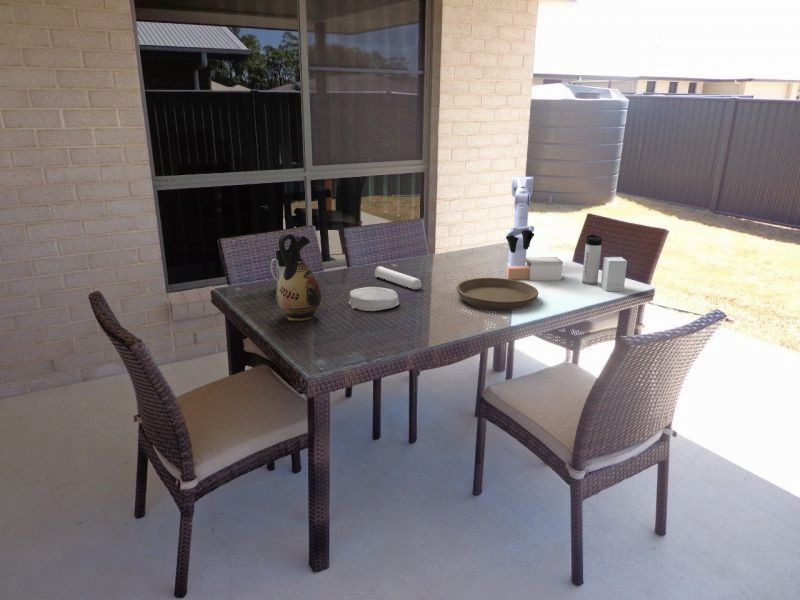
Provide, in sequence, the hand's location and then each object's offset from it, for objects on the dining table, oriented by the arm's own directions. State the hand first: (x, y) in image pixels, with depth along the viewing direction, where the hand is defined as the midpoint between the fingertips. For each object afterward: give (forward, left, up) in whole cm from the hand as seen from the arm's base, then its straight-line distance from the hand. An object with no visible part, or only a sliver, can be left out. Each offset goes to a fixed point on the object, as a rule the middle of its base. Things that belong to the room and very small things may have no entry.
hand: (519, 250), depth 256 cm
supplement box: (+16, +35, -13) cm, 41 cm away
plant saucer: (+27, -15, -13) cm, 33 cm away
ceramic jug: (+45, -89, -13) cm, 100 cm away
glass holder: (+11, -98, -13) cm, 99 cm away
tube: (+4, -51, -13) cm, 53 cm away
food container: (+30, -62, -13) cm, 70 cm away
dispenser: (-2, +11, -13) cm, 17 cm away
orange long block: (-2, +4, -13) cm, 14 cm away
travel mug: (+7, +29, -13) cm, 32 cm away
